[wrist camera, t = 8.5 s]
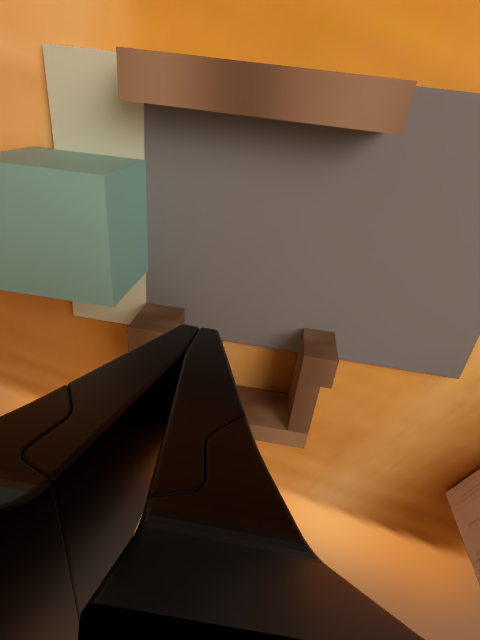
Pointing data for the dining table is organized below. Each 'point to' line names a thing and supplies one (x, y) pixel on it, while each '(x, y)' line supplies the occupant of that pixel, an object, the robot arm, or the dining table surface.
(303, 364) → the tunnel
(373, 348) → the grey board
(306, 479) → the dining table surface
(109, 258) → the block
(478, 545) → the supplement box
